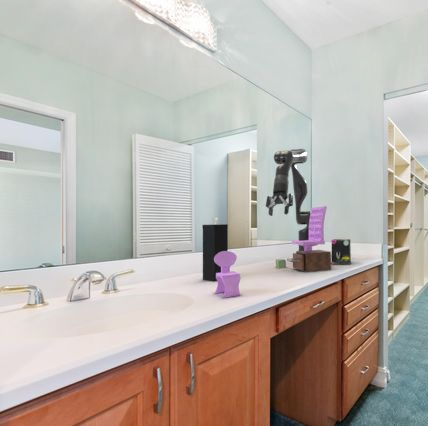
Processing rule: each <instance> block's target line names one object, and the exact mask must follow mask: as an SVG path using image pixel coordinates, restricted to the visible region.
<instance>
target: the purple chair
mask: <svg viewBox="0 0 428 426" xmlns="http://www.w3.org/2000/svg"><path fill="white" fill-rule="evenodd" d="M327 209H328V207H327V205H326V206H325V205H324V206H314V207H311V209H310V212H311V215H310V220H309V240H305V241H299V240H291V245H298V246H299V245H301V246H304V251H308V250H313V247H315V246H318V245H325V244H326V241H325V234H324V228H325V227H324V226H325V220H326V219H325V218H326V213H327Z"/></svg>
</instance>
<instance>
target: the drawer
mask: <svg viewBox="0 0 428 426" xmlns="http://www.w3.org/2000/svg"><path fill="white" fill-rule="evenodd" d="M286 262H289V263H292V268H293V269H296V270H298V269H299V270H298V271H301V272H304V271H303V270H304V269H306V265H305V254H300V253H298V254H297V253H296V252H293V253H292V258H289V257H288V258H286Z"/></svg>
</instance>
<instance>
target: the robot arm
mask: <svg viewBox="0 0 428 426" xmlns="http://www.w3.org/2000/svg"><path fill="white" fill-rule="evenodd" d="M273 161H274V163H275V164H276V165H277V167H276V168H275V175H274V180H273V189H272V196H269V195H267V196H266V202H265V207H266V208H267V209H268V216H270V217H273V216H274V215H273V212H274V208H275V207H276V206H277V205H280V204H281V205H283V204H284V210H283V212H284V215H286V216H287V215H288V214H289V211H290V207H293V205H295V206H294V207H295V221H296V224H297V225H300V226H301V225H303V226H304V225H306V226H305V227H304V228H301V229H299V230H298V231H297V232H298V241H305V240H309V220H310V215H311V210H302V206H303V203H304V200H305V199H306V198H307V195H308V192H309V191H308V183H307V180H306V179H305V178H304V176H303V175H302V174H301V173H300V170H299V168H298V165H299V164H306V162H307V161H308V152H307V150H306V149H305V148H296V149H290V150H278V151H276V152H274V155H273ZM290 170H291V176H292V186H293V187H292V189H293V194H292V193H291V192H290V193H288V192H289V182H290V181H289V176H290ZM287 200H288V202H287ZM297 251H304V246H301V245H298V250H297Z"/></svg>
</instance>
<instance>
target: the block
mask: <svg viewBox="0 0 428 426" xmlns="http://www.w3.org/2000/svg"><path fill="white" fill-rule="evenodd" d="M275 268H277V269H286V268H287V259H285V258H279V259H278V258H277V259H275Z"/></svg>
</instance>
